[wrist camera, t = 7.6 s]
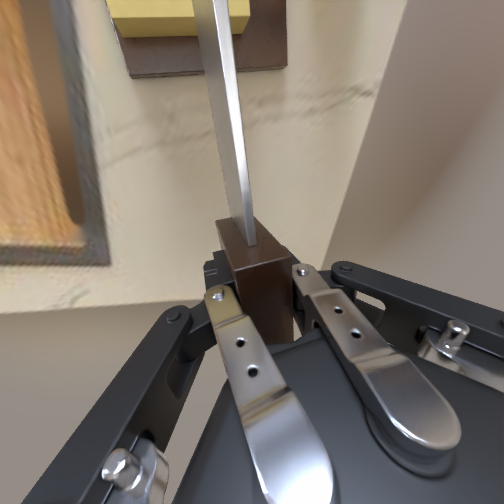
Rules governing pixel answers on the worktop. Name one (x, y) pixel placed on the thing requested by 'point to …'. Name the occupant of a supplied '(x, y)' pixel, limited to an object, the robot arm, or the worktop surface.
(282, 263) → the knife
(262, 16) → the butter board
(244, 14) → the butter pat
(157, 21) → the butter stick
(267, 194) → the worktop surface
